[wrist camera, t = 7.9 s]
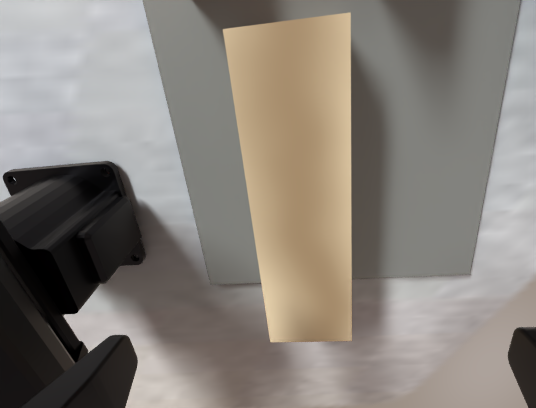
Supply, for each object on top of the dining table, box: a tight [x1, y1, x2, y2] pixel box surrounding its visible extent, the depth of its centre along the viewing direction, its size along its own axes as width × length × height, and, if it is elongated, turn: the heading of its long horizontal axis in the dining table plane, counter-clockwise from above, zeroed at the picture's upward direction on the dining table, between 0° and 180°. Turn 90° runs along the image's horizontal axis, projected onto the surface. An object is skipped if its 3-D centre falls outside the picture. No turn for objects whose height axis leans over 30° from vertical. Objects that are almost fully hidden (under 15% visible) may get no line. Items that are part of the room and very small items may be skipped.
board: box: [143, 0, 520, 285], centre depth 15 cm, size 15×21×1 cm
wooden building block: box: [223, 12, 352, 342], centre depth 15 cm, size 4×14×4 cm, turn 6°
